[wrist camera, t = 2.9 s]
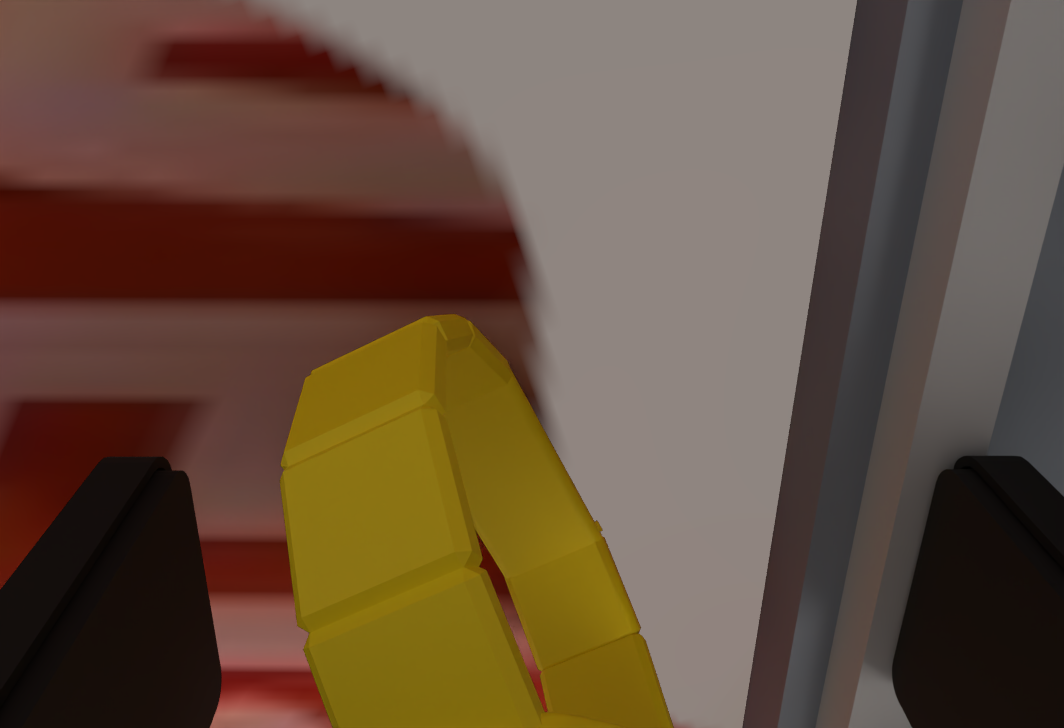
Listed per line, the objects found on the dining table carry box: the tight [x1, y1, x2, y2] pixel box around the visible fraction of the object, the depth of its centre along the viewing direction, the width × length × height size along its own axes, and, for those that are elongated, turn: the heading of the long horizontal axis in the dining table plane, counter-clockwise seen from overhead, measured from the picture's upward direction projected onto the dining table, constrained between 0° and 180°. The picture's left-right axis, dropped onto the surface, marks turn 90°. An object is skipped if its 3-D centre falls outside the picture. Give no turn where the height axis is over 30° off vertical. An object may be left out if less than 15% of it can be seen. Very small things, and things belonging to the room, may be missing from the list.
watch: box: [280, 314, 674, 728], centre depth 9 cm, size 6×3×6 cm, turn 26°
